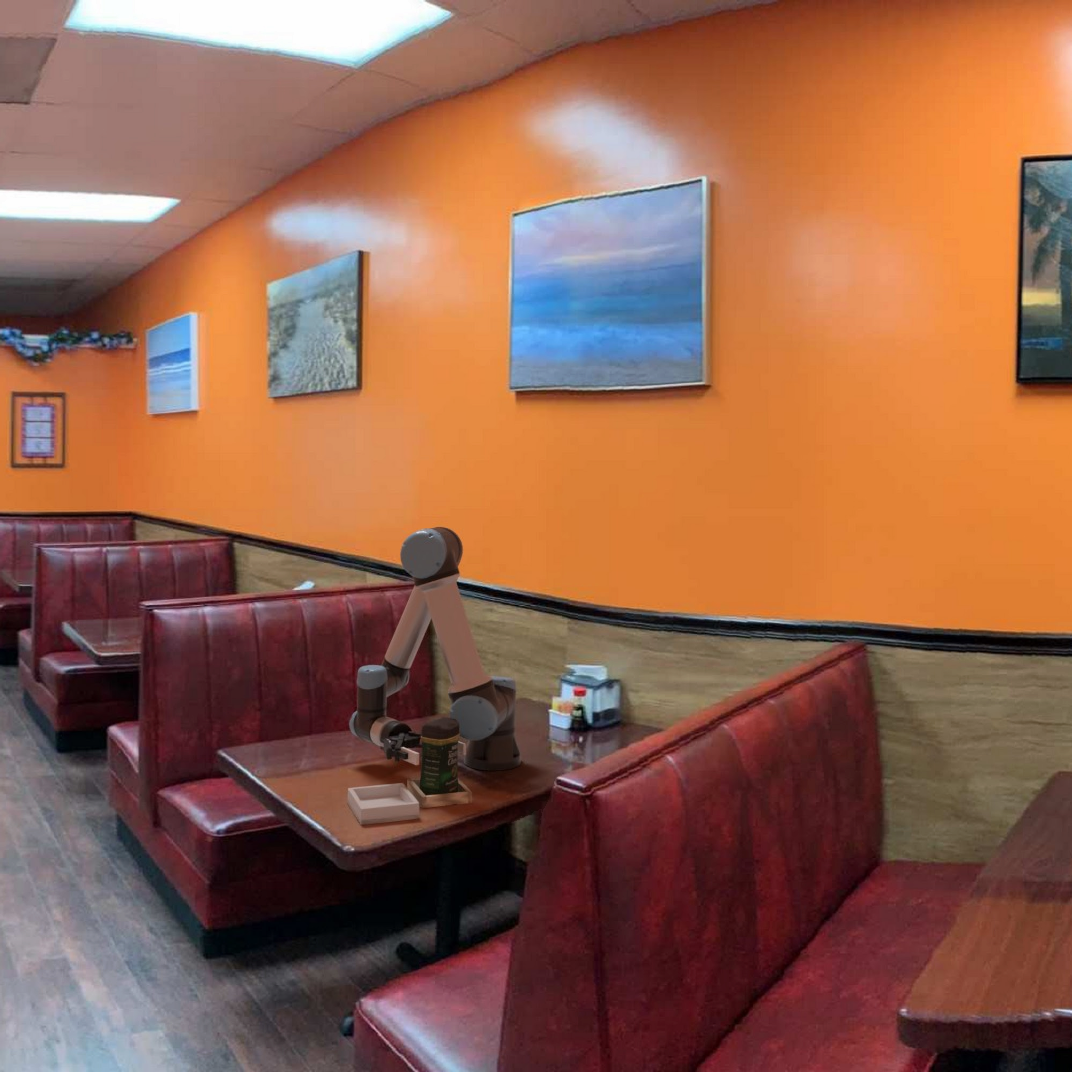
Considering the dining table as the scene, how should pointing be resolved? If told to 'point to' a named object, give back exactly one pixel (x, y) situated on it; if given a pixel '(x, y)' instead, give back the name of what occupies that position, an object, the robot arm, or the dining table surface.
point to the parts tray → (383, 803)
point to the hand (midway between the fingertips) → (441, 754)
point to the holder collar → (439, 795)
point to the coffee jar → (439, 756)
